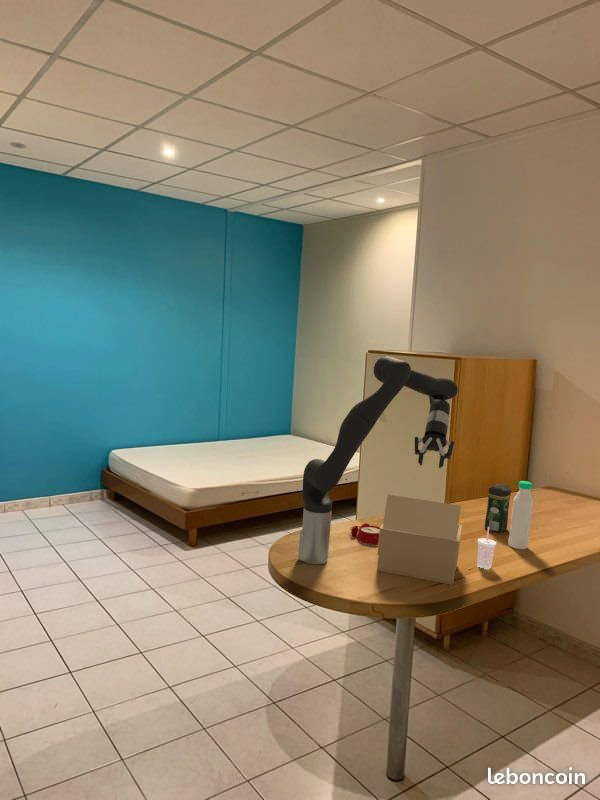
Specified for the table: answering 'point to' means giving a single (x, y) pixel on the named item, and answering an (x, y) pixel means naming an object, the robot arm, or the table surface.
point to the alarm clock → (366, 533)
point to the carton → (418, 555)
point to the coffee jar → (498, 507)
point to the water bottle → (521, 517)
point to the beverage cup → (485, 552)
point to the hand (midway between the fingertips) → (430, 465)
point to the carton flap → (422, 517)
